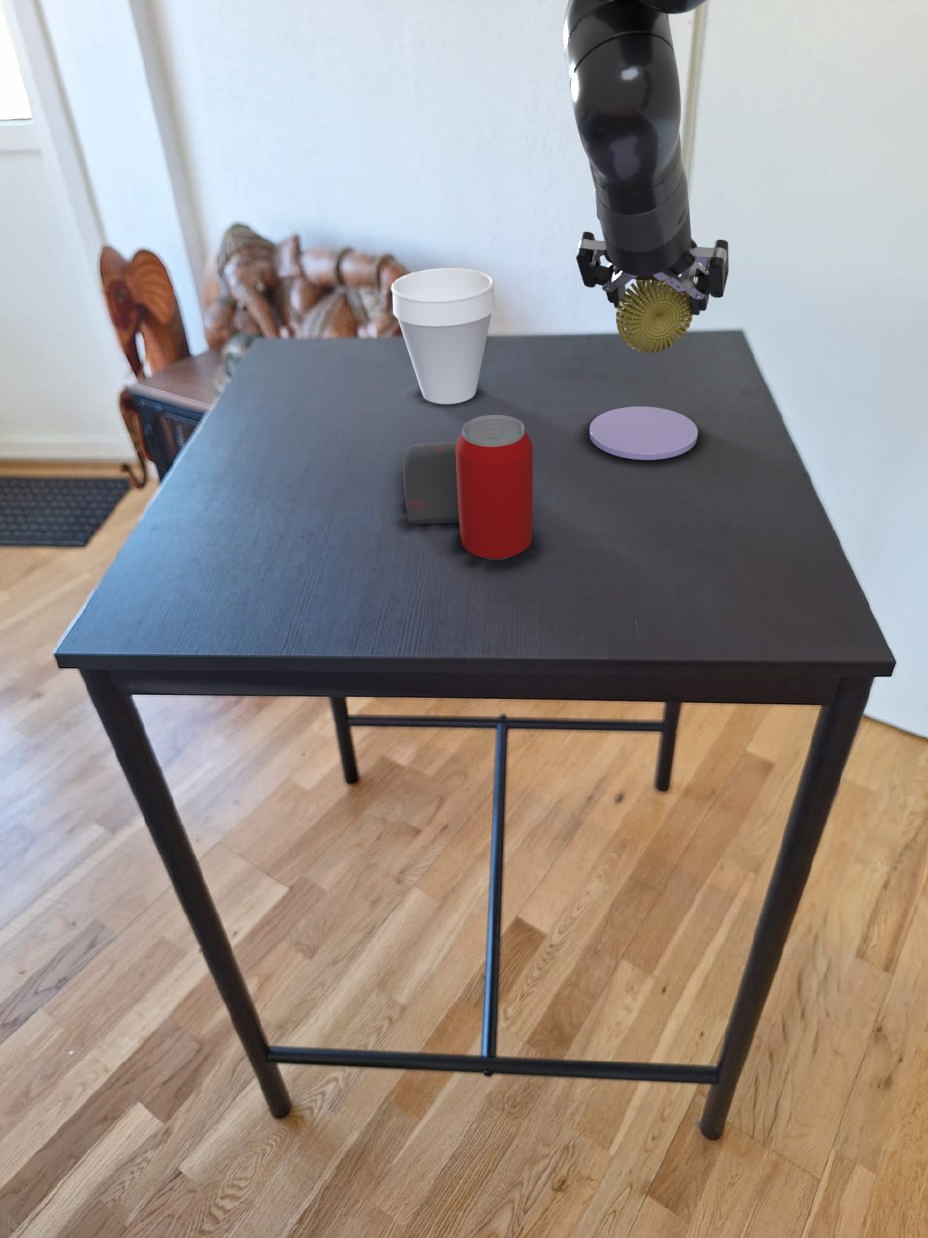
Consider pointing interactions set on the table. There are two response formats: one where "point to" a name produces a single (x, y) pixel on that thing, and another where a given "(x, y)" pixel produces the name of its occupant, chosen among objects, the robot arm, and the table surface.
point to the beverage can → (495, 486)
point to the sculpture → (653, 316)
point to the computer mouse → (431, 483)
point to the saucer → (643, 433)
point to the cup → (445, 328)
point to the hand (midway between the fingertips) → (658, 303)
